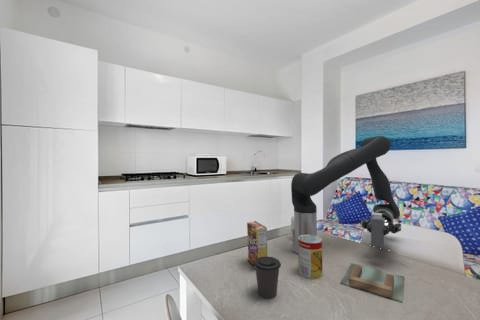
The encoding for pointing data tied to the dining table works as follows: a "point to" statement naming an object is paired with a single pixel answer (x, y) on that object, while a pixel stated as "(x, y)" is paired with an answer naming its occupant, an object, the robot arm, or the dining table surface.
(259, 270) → the coffee cup
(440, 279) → the dining table surface
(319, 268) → the canned food
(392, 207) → the robot arm
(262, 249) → the candy box
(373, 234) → the connector plug
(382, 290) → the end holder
